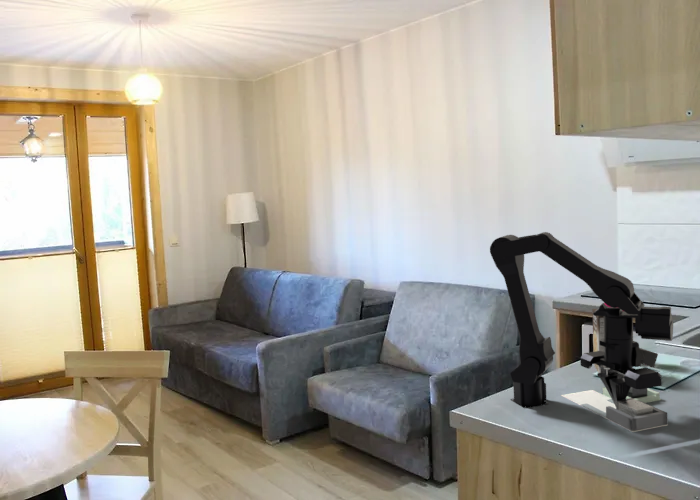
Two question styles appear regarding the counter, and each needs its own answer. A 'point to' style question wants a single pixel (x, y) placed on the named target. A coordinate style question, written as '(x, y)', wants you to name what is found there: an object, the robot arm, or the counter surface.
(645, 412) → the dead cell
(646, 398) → the pale green square tray
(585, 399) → the long white tray
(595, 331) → the coffee box
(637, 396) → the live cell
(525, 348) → the robot arm
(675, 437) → the counter surface
